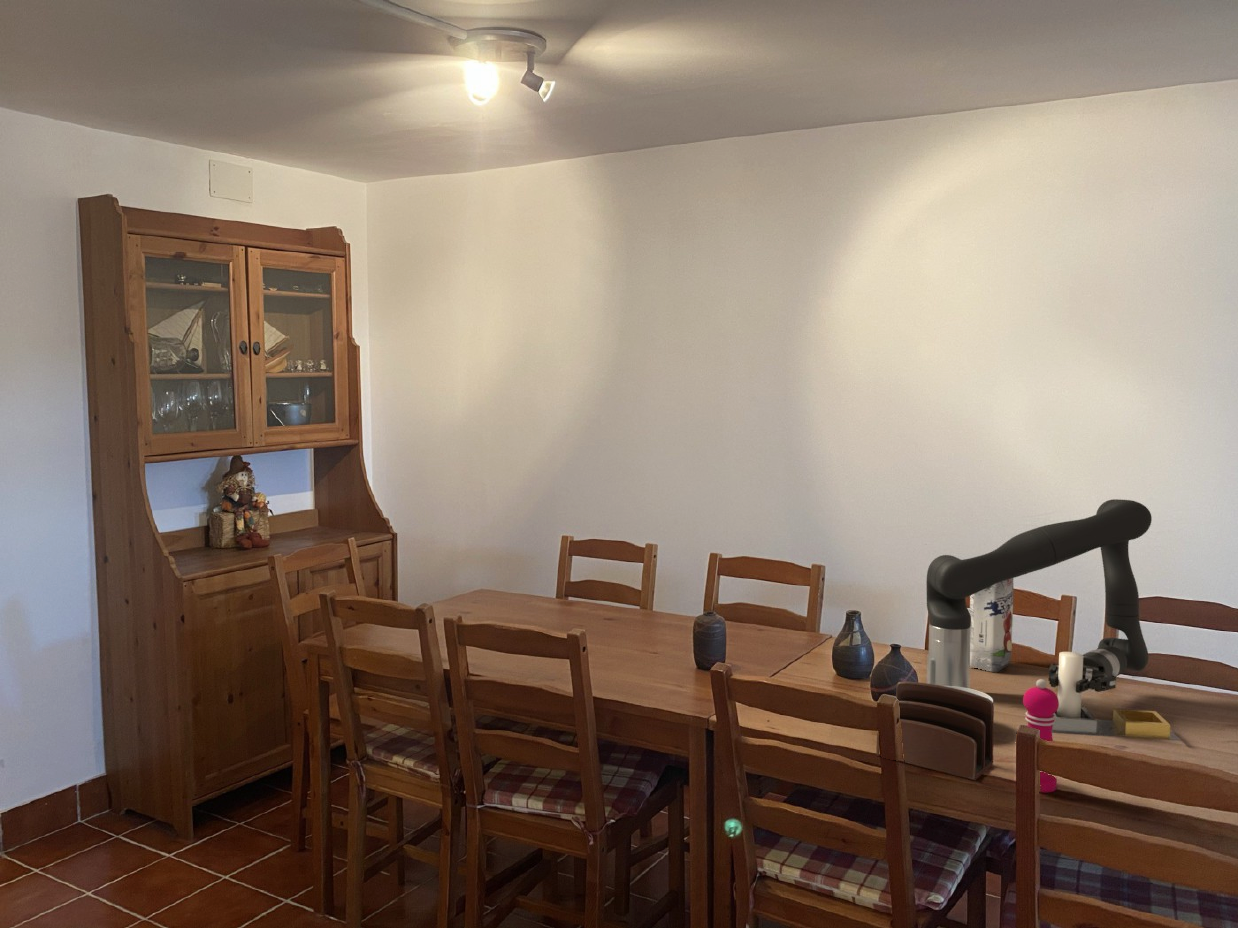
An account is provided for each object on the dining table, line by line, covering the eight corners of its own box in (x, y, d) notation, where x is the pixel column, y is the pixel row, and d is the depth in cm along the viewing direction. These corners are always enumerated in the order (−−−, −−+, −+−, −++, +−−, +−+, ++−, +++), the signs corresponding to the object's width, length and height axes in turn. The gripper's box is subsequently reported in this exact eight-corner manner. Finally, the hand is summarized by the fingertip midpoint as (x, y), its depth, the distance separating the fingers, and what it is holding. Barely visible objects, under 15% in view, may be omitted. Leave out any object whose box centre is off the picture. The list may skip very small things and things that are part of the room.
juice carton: (964, 668, 253) (967, 565, 251) (979, 659, 261) (982, 559, 259) (999, 674, 248) (1002, 569, 245) (1014, 665, 256) (1017, 563, 253)
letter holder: (896, 742, 203) (898, 675, 201) (993, 765, 190) (995, 694, 189) (875, 756, 195) (876, 687, 194) (975, 782, 182) (977, 708, 181)
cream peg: (1059, 722, 206) (1062, 657, 205) (1054, 714, 211) (1056, 651, 209) (1083, 723, 205) (1085, 658, 204) (1077, 716, 210) (1079, 652, 208)
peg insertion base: (1044, 737, 204) (1045, 718, 204) (1033, 721, 214) (1034, 703, 214) (1180, 745, 199) (1181, 726, 199) (1162, 728, 209) (1163, 710, 209)
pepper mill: (1009, 778, 183) (1012, 674, 182) (1046, 777, 184) (1050, 672, 182) (1028, 794, 176) (1032, 686, 175) (1067, 793, 177) (1071, 684, 175)
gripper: (1063, 645, 222) (1031, 660, 210) (1131, 658, 212) (1101, 675, 200) (1062, 677, 223) (1030, 694, 211) (1129, 692, 212) (1099, 710, 200)
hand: (1065, 685), depth 205 cm, fingers closed on cream peg, 4 cm apart
